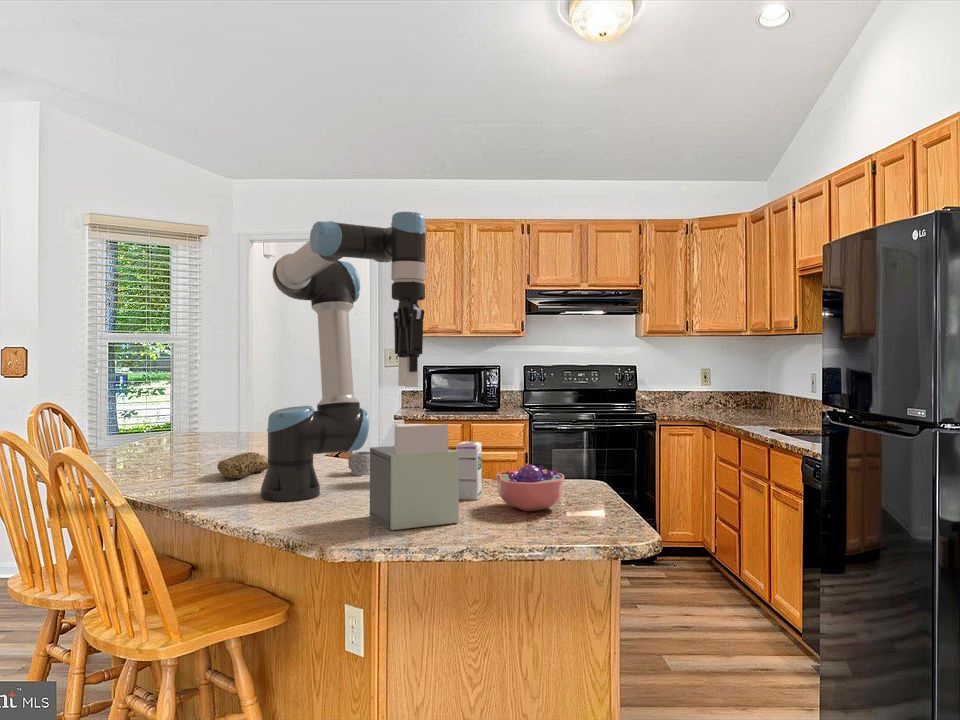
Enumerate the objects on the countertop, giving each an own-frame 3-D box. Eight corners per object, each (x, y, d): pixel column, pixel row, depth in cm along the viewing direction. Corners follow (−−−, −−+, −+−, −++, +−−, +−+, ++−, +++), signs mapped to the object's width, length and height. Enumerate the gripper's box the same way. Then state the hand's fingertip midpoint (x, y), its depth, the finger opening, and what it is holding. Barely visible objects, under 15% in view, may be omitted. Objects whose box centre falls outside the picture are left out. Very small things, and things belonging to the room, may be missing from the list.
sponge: (245, 473, 226) (199, 470, 209) (253, 450, 227) (206, 444, 209) (276, 484, 221) (230, 481, 203) (283, 460, 221) (238, 455, 204)
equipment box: (369, 515, 163) (369, 447, 163) (433, 509, 170) (433, 443, 170) (389, 529, 151) (389, 455, 150) (457, 522, 158) (457, 451, 158)
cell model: (568, 502, 180) (568, 458, 180) (559, 520, 160) (560, 470, 160) (504, 498, 184) (504, 455, 184) (487, 515, 164) (487, 467, 164)
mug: (377, 474, 219) (377, 453, 218) (359, 477, 214) (359, 455, 214) (357, 470, 225) (357, 450, 225) (340, 473, 221) (340, 452, 221)
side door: (390, 528, 150) (390, 426, 150) (456, 521, 157) (456, 423, 157) (392, 529, 149) (392, 427, 149) (458, 522, 156) (459, 424, 156)
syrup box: (477, 500, 181) (478, 444, 181) (455, 499, 182) (456, 443, 182) (482, 495, 187) (482, 441, 187) (460, 494, 188) (461, 440, 188)
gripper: (438, 279, 151) (438, 387, 152) (410, 286, 166) (410, 384, 167) (405, 277, 148) (405, 388, 148) (380, 284, 163) (380, 385, 163)
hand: (408, 386), depth 157 cm, fingers open, 4 cm apart
